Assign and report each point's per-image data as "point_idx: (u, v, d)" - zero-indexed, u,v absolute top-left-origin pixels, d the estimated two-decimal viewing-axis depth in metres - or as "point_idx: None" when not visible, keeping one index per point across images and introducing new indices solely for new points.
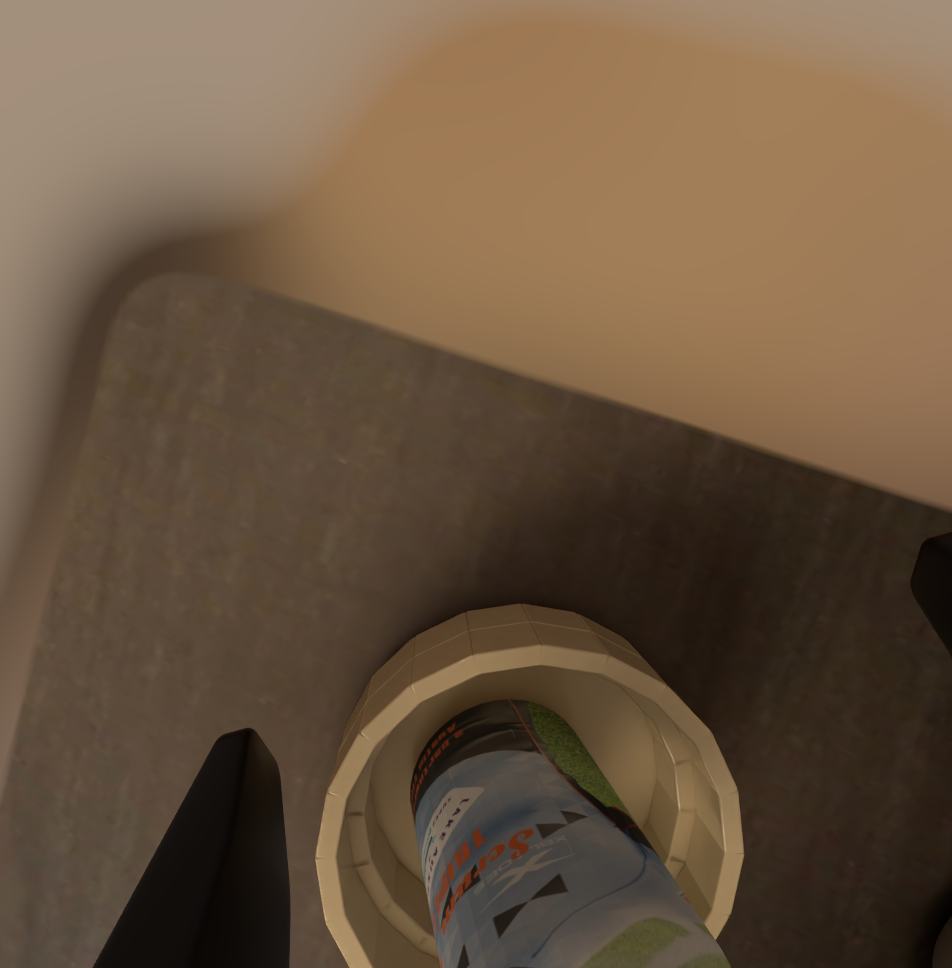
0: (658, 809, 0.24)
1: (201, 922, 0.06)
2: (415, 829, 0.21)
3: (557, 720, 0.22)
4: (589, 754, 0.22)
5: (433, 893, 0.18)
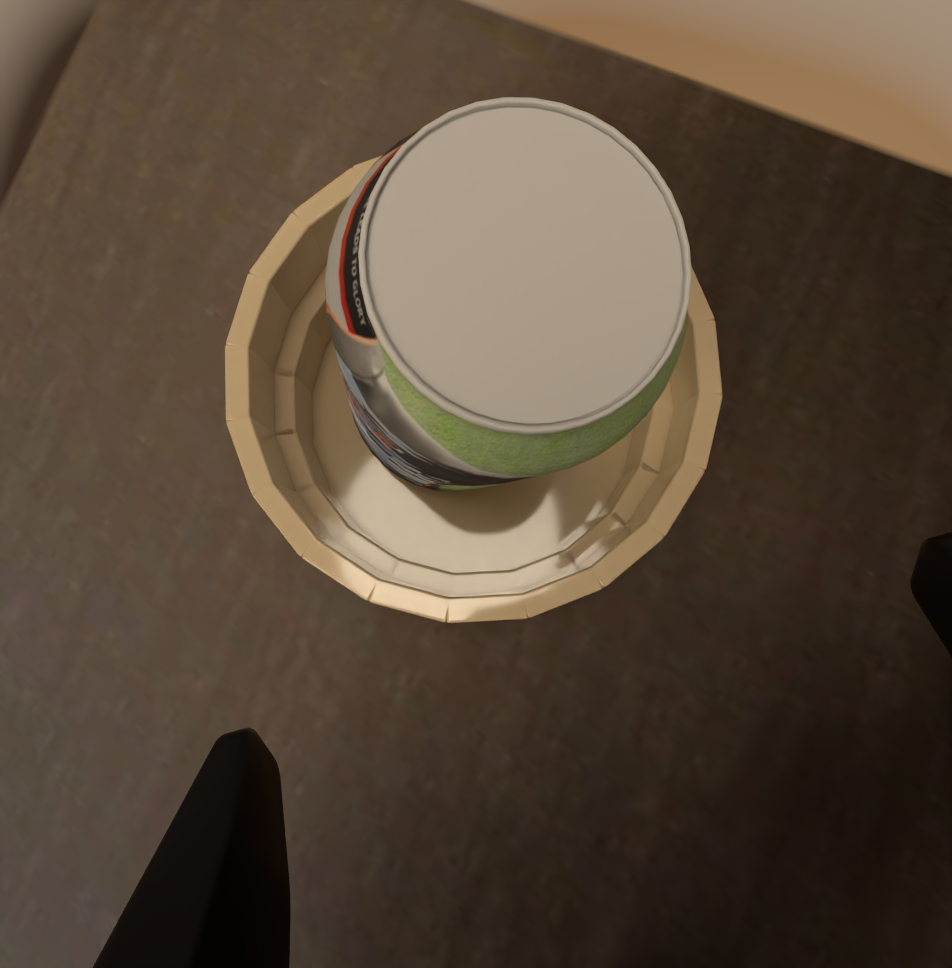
0: (633, 448, 0.21)
1: (201, 922, 0.06)
2: None
3: None
4: None
5: None
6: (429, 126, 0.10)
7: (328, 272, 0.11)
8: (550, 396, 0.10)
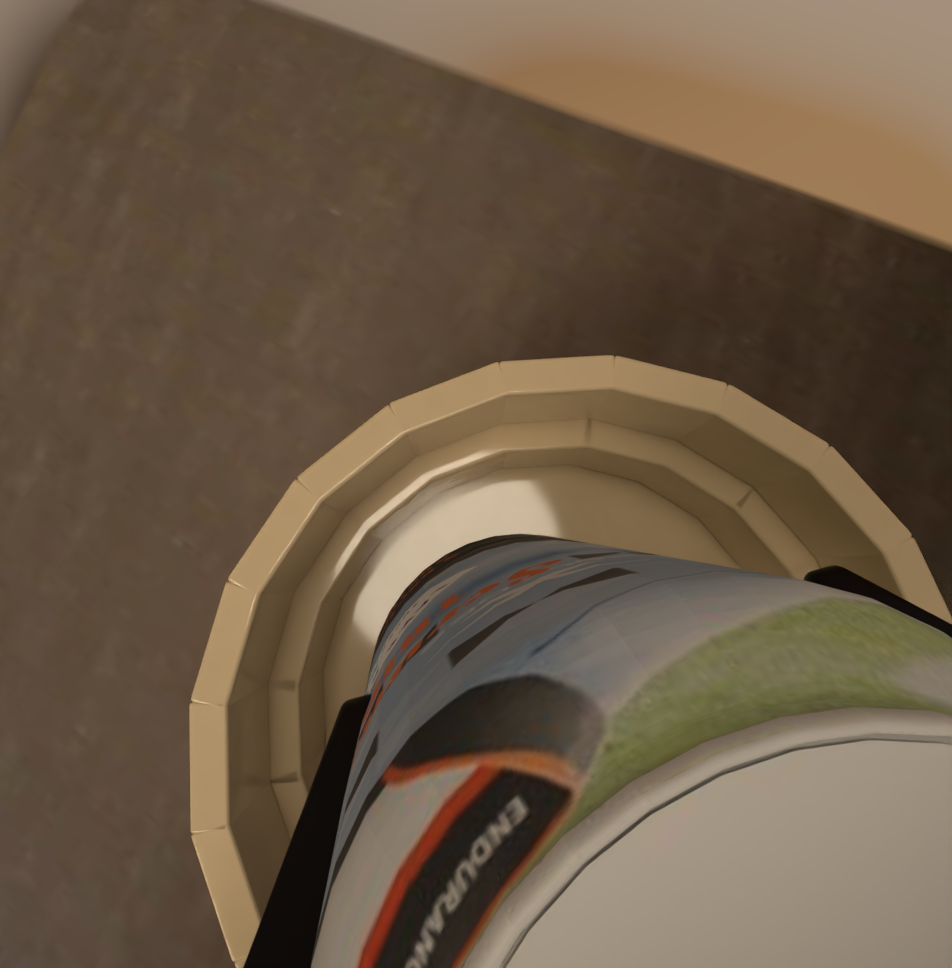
0: None
1: None
2: None
3: None
4: None
5: None
6: (584, 846, 0.03)
7: None
8: None
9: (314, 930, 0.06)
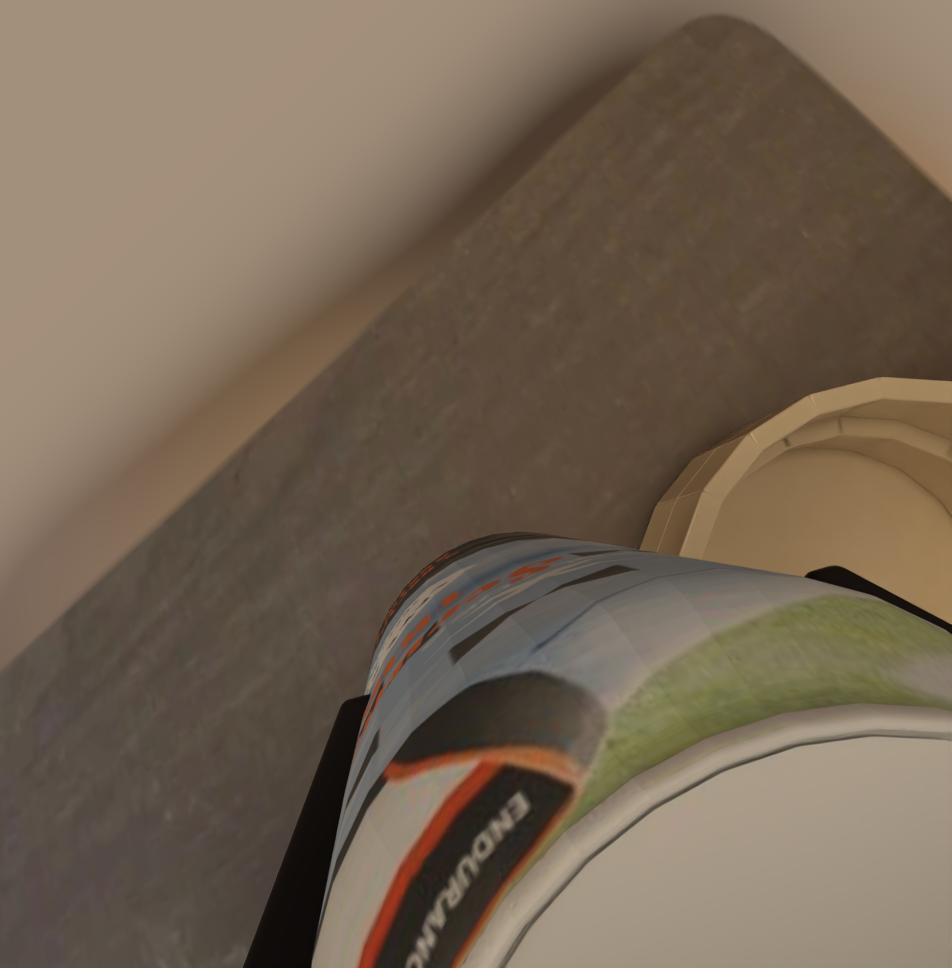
0: None
1: None
2: None
3: None
4: None
5: None
6: (586, 842, 0.03)
7: None
8: None
9: (313, 930, 0.06)
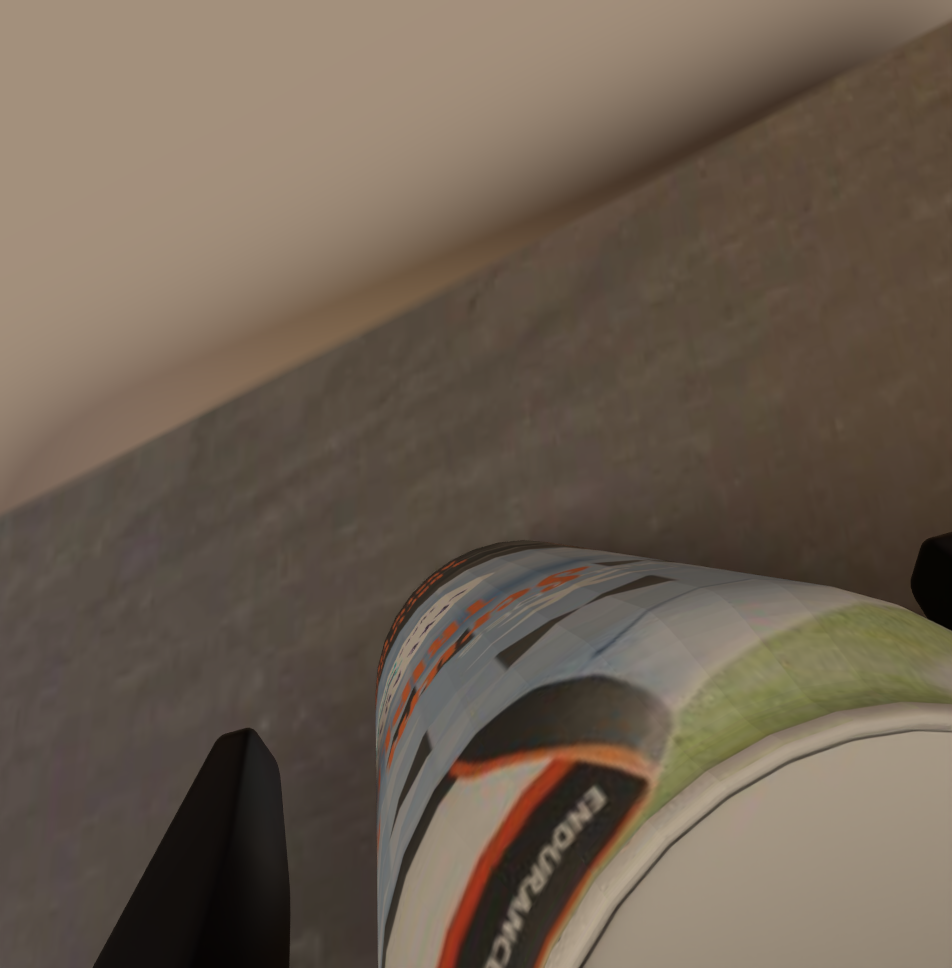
0: None
1: (201, 922, 0.06)
2: None
3: None
4: None
5: (384, 737, 0.09)
6: (670, 828, 0.04)
7: None
8: None
9: None
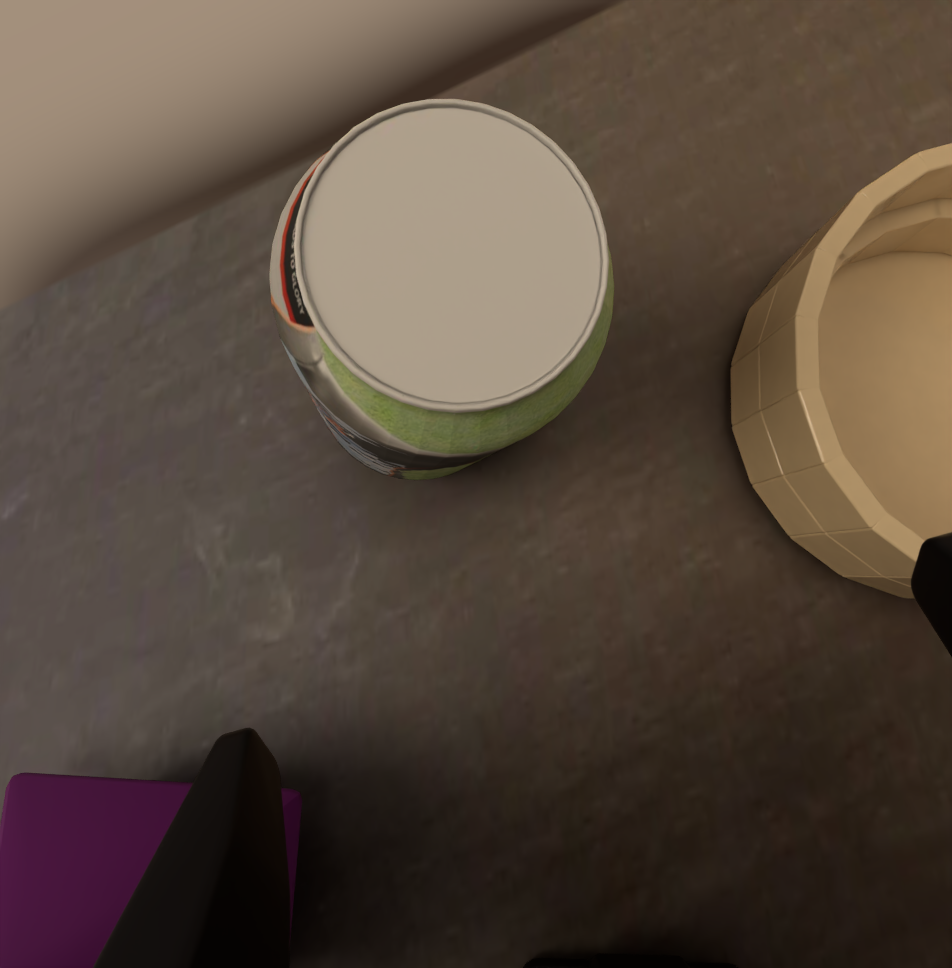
0: None
1: (200, 922, 0.06)
2: None
3: None
4: None
5: None
6: (358, 127, 0.11)
7: (271, 266, 0.12)
8: (477, 376, 0.11)
9: None
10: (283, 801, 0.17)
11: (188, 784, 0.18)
